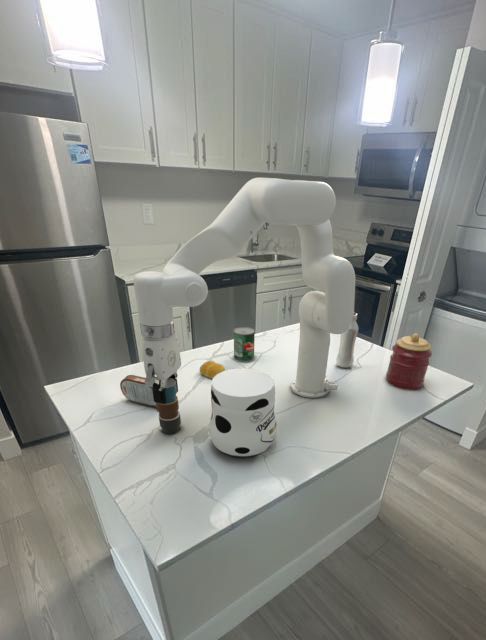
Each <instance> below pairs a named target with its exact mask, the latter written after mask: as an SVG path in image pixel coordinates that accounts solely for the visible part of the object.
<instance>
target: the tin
mask: <svg viewBox="0 0 486 640" xmlns="http://www.w3.org/2000/svg"><path fill="white" fill-rule="evenodd" d="M145 379H146V377H144V376H140V375H135V374H128V375H125V377H124V378H123V379H121V380H120V383H119V386H120V390H121V393H122V395H123V396H124V397H125V398H126V399H127V400H129V401H130V402H133V403H136V404H141V405H144V406H148V407H152V408H157V406H156V402H154V398H153V391H152V389H151V388H150V387H149V386H147V385H145Z"/></svg>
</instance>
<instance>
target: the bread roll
mask: <svg viewBox="0 0 486 640" xmlns="http://www.w3.org/2000/svg"><path fill="white" fill-rule="evenodd" d="M223 371H226V368H225V366H224V365H223V364H219V363H217V362H216V361H213V360H208V361H205V362H204V363H203V364H201V365H200V367H199V373H200V374H201V375H202V376H204V377H206V378H208V379H213V378H214V377H215V376H216V375H217V374H219V373H221V372H223Z"/></svg>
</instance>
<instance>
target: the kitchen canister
mask: <svg viewBox="0 0 486 640" xmlns="http://www.w3.org/2000/svg"><path fill="white" fill-rule="evenodd" d="M391 349H392V354H391V355H390V356H389V363H388V367H387V370H386V374H385V380H386V382H387V383H388V384H389V385H390V386H393V387H395V388H398V389H402V390H417V389H420V388H421V387H422V386H423V384H424V383H425V380H426V379H425V378H426V374H427V371H428V368H429V365H430V361H429V360H430V358H431V357H432V356H433V352H432V351H431V349H432V345H431V344H430V342H428V341H427V339H425V338H423V337H421V336H420V334H418V333H412V335H407V336H402V337H401V338H398V339H397V340H396V342H395V344H394V345H393V346H392V348H391Z"/></svg>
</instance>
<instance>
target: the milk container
mask: <svg viewBox="0 0 486 640" xmlns="http://www.w3.org/2000/svg"><path fill="white" fill-rule="evenodd" d="M211 379H212V380H211V386H210V401H211V417H210V420H209V436H210V439H211V442H212V444H213V445H214V447H215V448H216V449H217V450H219V451H220V452H221V453H223V454H226V455H228V456H232V457H240V458H247V457H255V456H258V455H260V454H263V453H265V452H266V451H268V450H269V449H271V447H272V446H273V444H274V442H275V440H276V437H277V433H278V424H277V419H276V415H275V406H276V405H275V404H276V385H275V379H274V378H273V377H272V376H271V374H269V373H267V372H266V371H262V370H259V369H255V368H244V367H241V368H232V369H231V368H230V369H225V371H223V372H221V373H219V374H217V375H216V376H215V377H214V378H211Z"/></svg>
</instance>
